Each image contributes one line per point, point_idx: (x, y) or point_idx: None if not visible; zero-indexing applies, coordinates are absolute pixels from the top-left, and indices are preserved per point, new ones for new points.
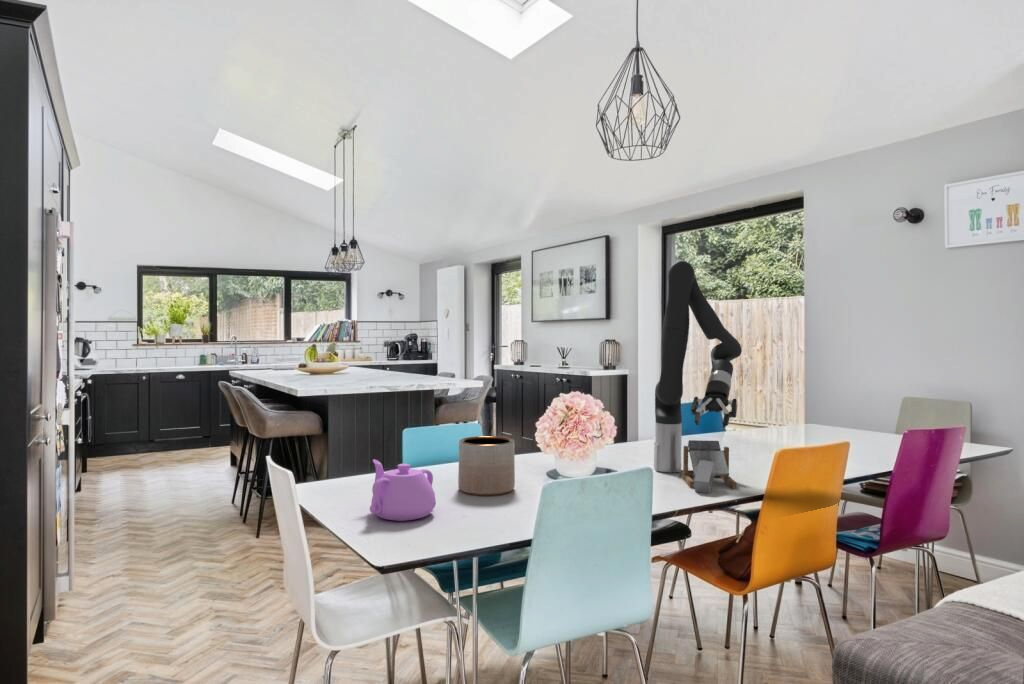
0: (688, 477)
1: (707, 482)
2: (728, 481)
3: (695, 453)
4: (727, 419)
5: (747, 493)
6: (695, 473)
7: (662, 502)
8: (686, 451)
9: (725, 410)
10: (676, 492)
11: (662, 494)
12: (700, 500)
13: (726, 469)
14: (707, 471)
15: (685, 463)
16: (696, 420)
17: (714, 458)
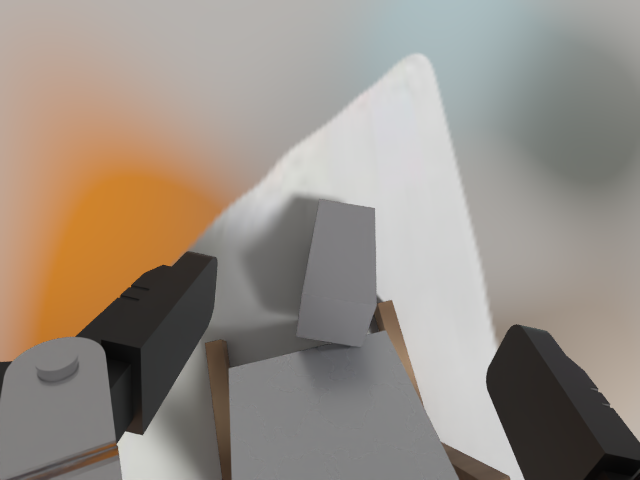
0: None
1: (324, 201)
2: None
3: (419, 470)
4: (128, 296)
5: None
6: (381, 333)
7: (437, 103)
8: (480, 470)
9: (60, 420)
10: (420, 223)
11: (456, 186)
12: (339, 148)
13: (237, 390)
14: (329, 241)
15: (451, 451)
16: (539, 329)
17: (297, 457)
